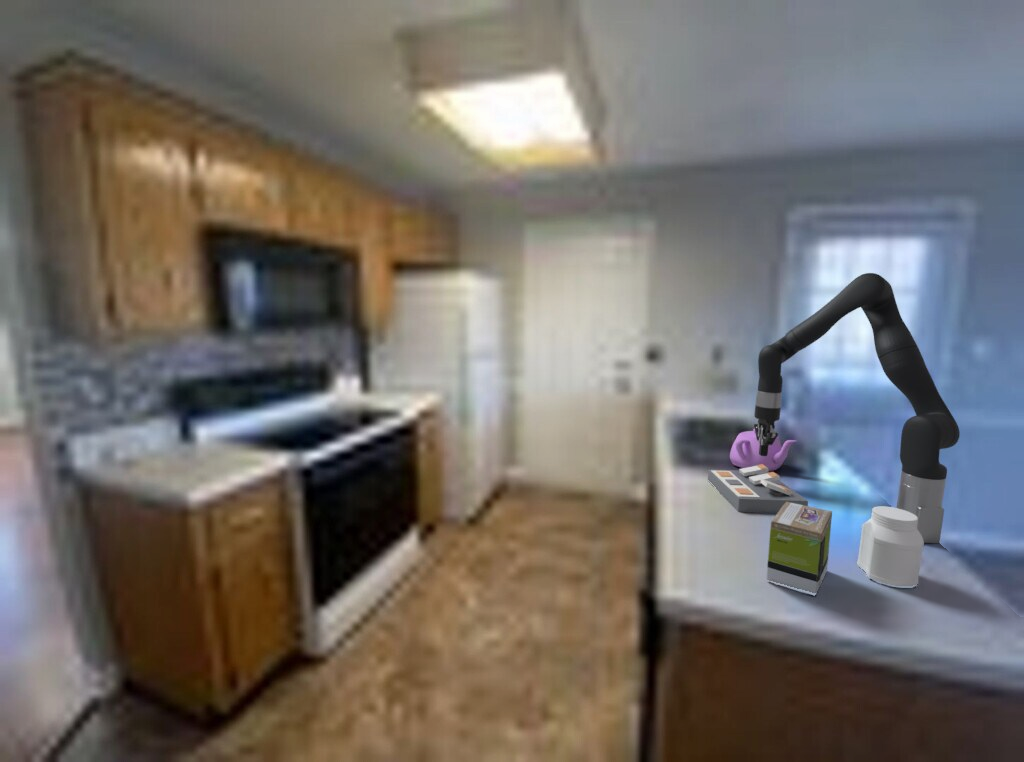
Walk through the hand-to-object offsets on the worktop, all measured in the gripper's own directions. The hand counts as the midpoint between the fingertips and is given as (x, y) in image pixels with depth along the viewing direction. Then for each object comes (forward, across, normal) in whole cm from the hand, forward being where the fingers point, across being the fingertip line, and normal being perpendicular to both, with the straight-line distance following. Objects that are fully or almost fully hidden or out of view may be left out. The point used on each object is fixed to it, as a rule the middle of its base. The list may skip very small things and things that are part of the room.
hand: (762, 455), depth 171 cm
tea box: (+11, -58, +16) cm, 62 cm away
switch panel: (+11, -8, +6) cm, 15 cm away
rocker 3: (+5, -16, +3) cm, 17 cm away
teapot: (+12, +22, -8) cm, 26 cm away
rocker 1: (+5, 0, +3) cm, 6 cm away
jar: (+11, -56, -5) cm, 58 cm away
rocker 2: (+5, -8, +3) cm, 10 cm away
